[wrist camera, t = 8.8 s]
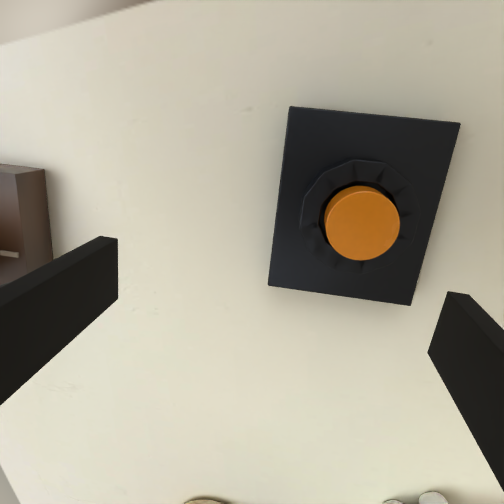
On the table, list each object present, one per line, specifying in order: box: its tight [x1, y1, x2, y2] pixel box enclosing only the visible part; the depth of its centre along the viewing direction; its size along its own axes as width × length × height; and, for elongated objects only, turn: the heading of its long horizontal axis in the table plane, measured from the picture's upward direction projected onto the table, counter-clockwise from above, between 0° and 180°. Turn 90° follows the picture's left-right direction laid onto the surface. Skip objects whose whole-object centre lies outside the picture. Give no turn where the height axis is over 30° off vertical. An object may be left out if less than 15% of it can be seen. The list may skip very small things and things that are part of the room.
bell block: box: [268, 106, 461, 306], centre depth 24 cm, size 12×10×4 cm
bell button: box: [324, 186, 400, 260], centre depth 21 cm, size 4×4×2 cm
